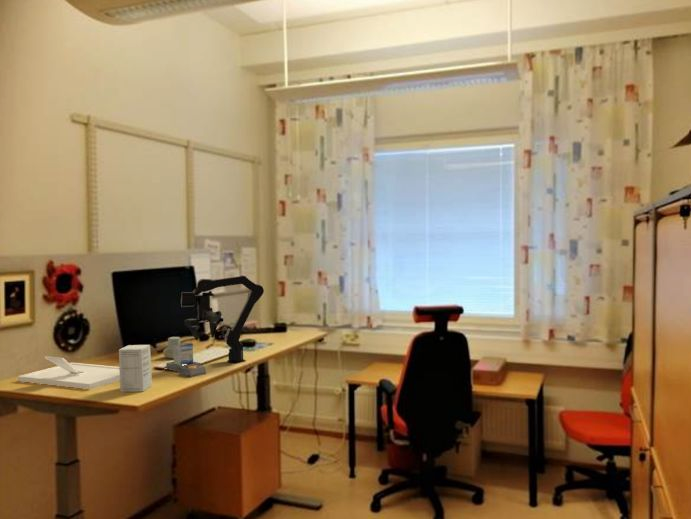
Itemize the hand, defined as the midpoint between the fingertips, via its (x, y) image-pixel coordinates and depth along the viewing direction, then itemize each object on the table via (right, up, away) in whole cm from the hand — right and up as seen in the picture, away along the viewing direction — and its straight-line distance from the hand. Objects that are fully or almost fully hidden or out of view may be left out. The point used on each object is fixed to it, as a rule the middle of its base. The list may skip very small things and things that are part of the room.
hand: (204, 338), depth 269 cm
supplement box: (-17, -14, -42) cm, 47 cm away
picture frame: (-48, -15, -22) cm, 55 cm away
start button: (-1, -12, -19) cm, 22 cm away
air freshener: (-19, -12, +17) cm, 28 cm away
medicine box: (-8, -10, -7) cm, 15 cm away
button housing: (-1, -13, -19) cm, 23 cm away
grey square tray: (-8, -12, -7) cm, 16 cm away
